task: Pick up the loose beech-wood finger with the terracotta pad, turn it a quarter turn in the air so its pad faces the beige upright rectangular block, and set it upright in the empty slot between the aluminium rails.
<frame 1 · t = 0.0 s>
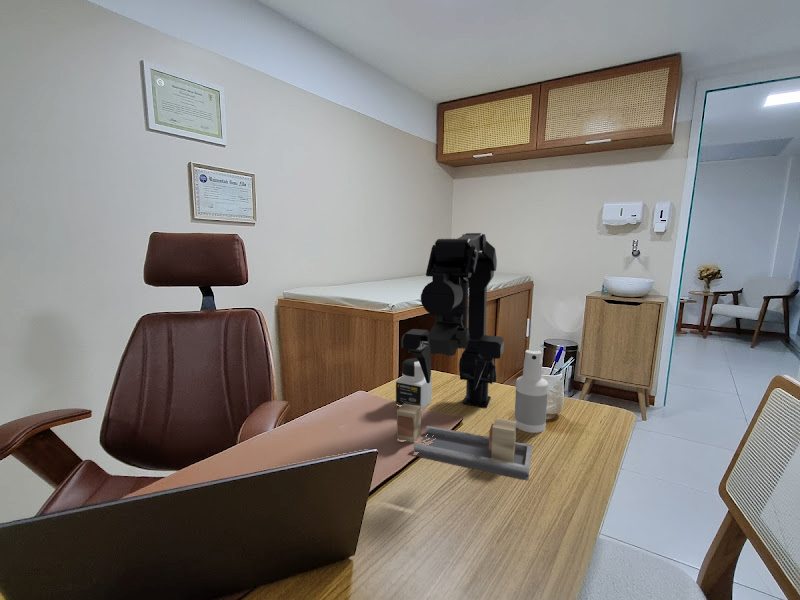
hand: (451, 385, 74), 15 cm above the table, tool pointing down, fingers open, 9 cm apart
beige upright rectangular block: (503, 458, 74), resting on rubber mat
finger rail: (472, 448, 76), on the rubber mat, point 1 cm above the table
spray bottle: (529, 428, 87), on the table
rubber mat: (472, 454, 76), on the table
medicine bottle: (413, 405, 100), on the table
beech finger: (409, 438, 83), on the table
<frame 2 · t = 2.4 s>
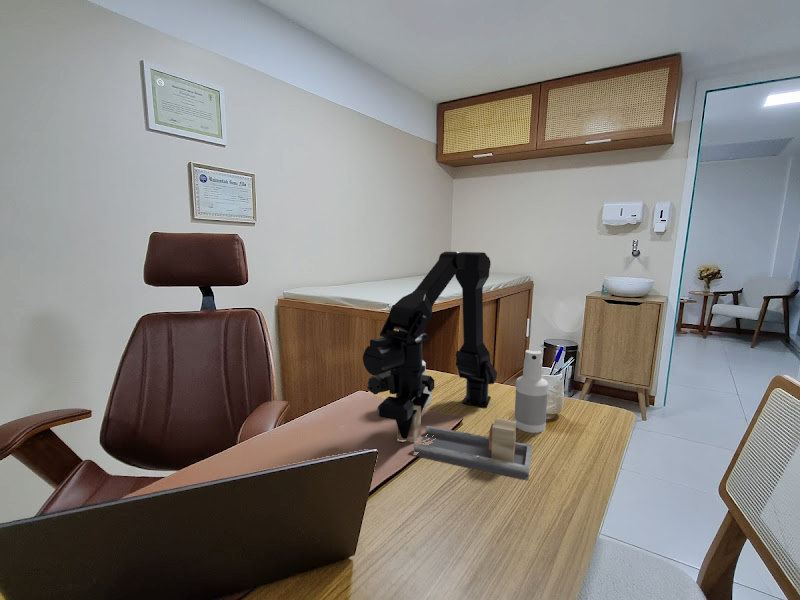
hand: (408, 432, 82), 2 cm above the table, tool pointing down, fingers closed on beech finger, 5 cm apart
beech finger: (409, 438, 83), on the table, touching gripper
everything else where it was.
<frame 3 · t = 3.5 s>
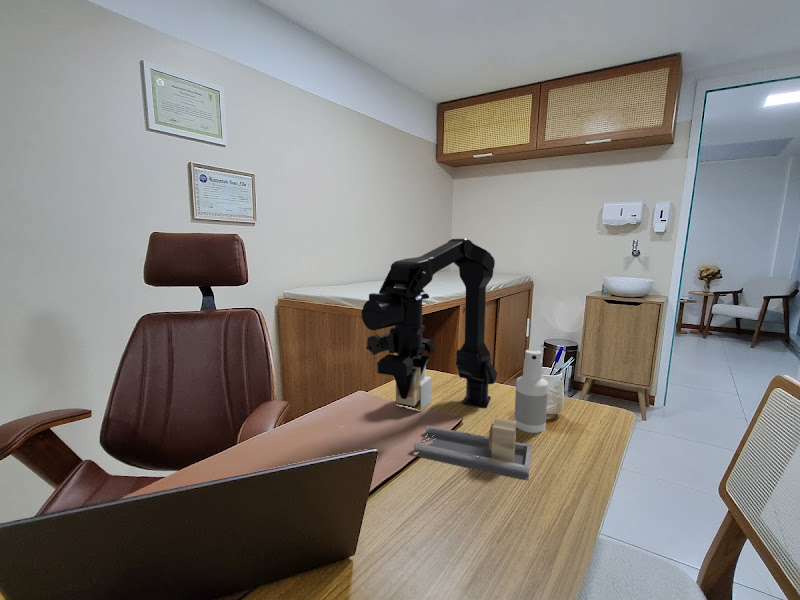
hand: (408, 394, 81), 10 cm above the table, tool pointing down, fingers closed on beech finger, 5 cm apart
beech finger: (408, 400, 81), point 9 cm above the table, touching gripper
everything else where it was.
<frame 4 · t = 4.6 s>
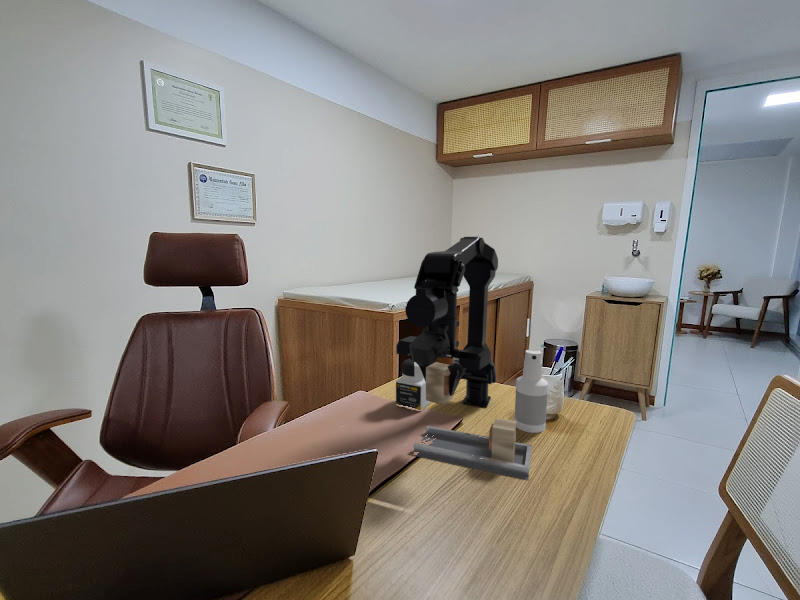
hand: (440, 392, 77), 12 cm above the table, tool pointing down, fingers closed on beech finger, 5 cm apart
beech finger: (439, 399, 78), point 10 cm above the table, touching gripper
everything else where it was.
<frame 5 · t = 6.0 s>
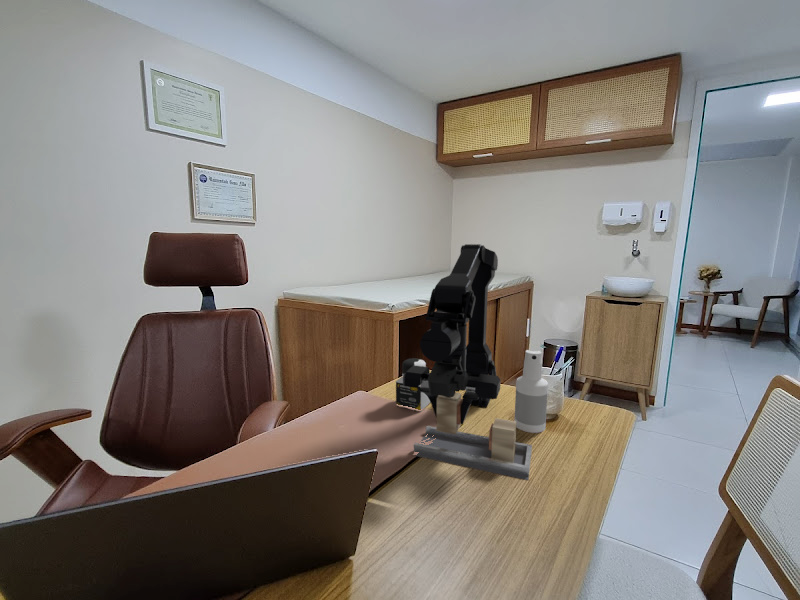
hand: (450, 421, 77), 6 cm above the table, tool pointing down, fingers closed on beech finger, 5 cm apart
beech finger: (448, 428, 78), point 5 cm above the table, touching gripper
everything else where it was.
when the fingers open (3 cm above the table, at t = 6.9 s): beech finger drops 1 cm, resting on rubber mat.
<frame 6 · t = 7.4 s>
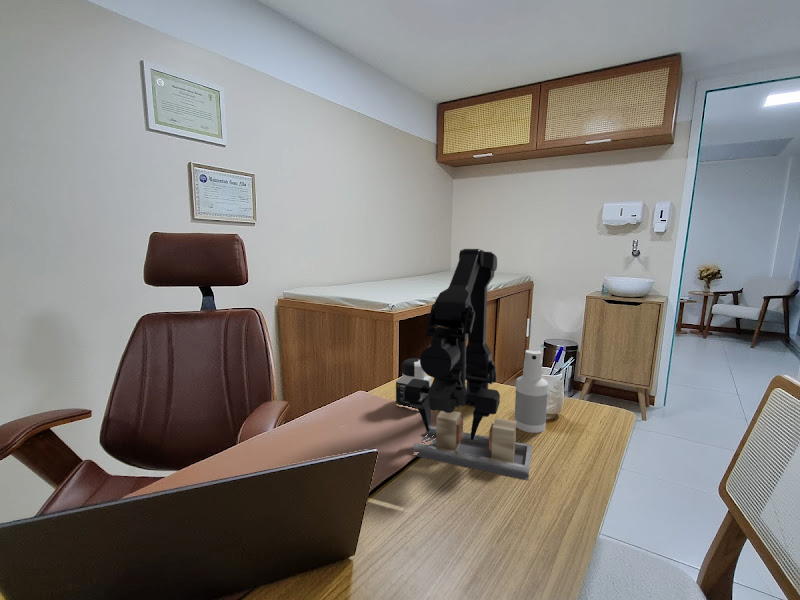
hand: (449, 434, 78), 3 cm above the table, tool pointing down, fingers open, 9 cm apart
beech finger: (448, 446, 78), resting on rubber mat
everything else where it was.
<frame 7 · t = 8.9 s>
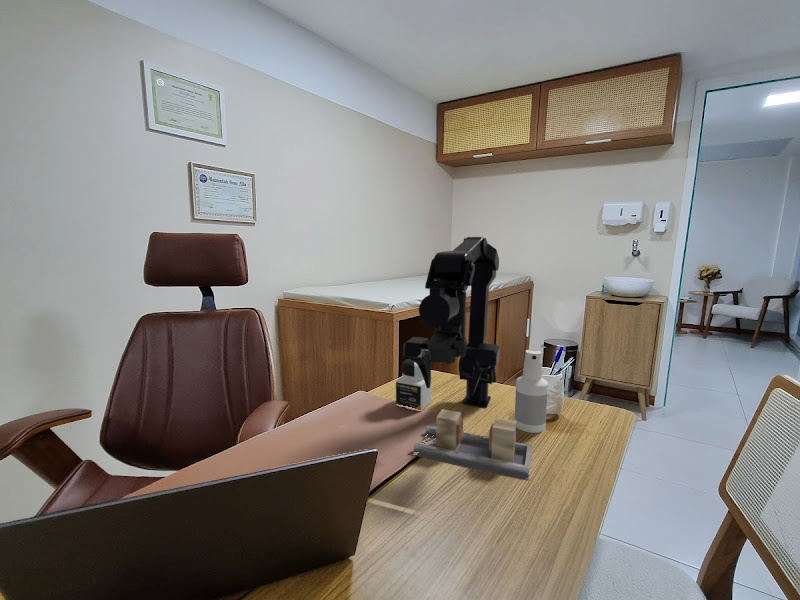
hand: (450, 390, 78), 12 cm above the table, tool pointing down, fingers open, 9 cm apart
nothing on the table moved.
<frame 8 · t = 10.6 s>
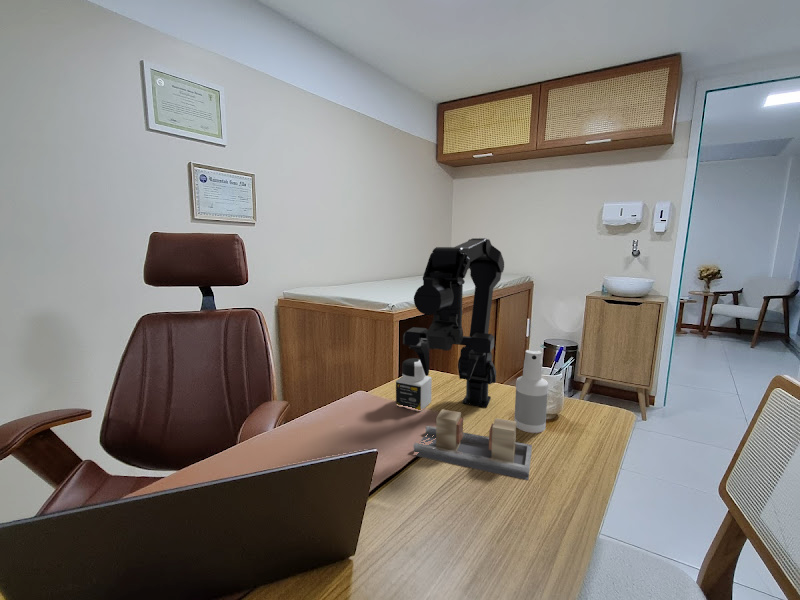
hand: (447, 377, 83), 13 cm above the table, tool pointing down, fingers open, 9 cm apart
nothing on the table moved.
at the end: beech finger 0.0 cm from the target spot, point 0.5 cm above the table; beech finger tilted 0°; the gripper is holding nothing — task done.
